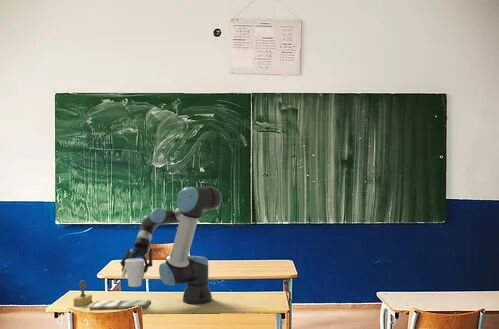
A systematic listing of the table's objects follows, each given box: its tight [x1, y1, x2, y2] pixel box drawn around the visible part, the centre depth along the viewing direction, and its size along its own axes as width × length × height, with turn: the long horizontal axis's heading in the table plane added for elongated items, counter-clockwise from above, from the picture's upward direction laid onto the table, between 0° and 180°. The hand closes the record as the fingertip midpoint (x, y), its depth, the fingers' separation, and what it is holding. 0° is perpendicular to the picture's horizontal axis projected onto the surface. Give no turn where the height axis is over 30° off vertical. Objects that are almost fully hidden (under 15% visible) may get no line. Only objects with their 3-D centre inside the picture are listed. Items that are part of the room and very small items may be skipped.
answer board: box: [89, 299, 152, 311], centre depth 281 cm, size 28×13×1 cm, turn 91°
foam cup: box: [125, 257, 145, 288], centre depth 282 cm, size 10×9×13 cm
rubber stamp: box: [73, 280, 93, 307], centre depth 287 cm, size 10×6×12 cm, turn 173°
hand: (132, 277), depth 279 cm, fingers closed on foam cup, 9 cm apart
